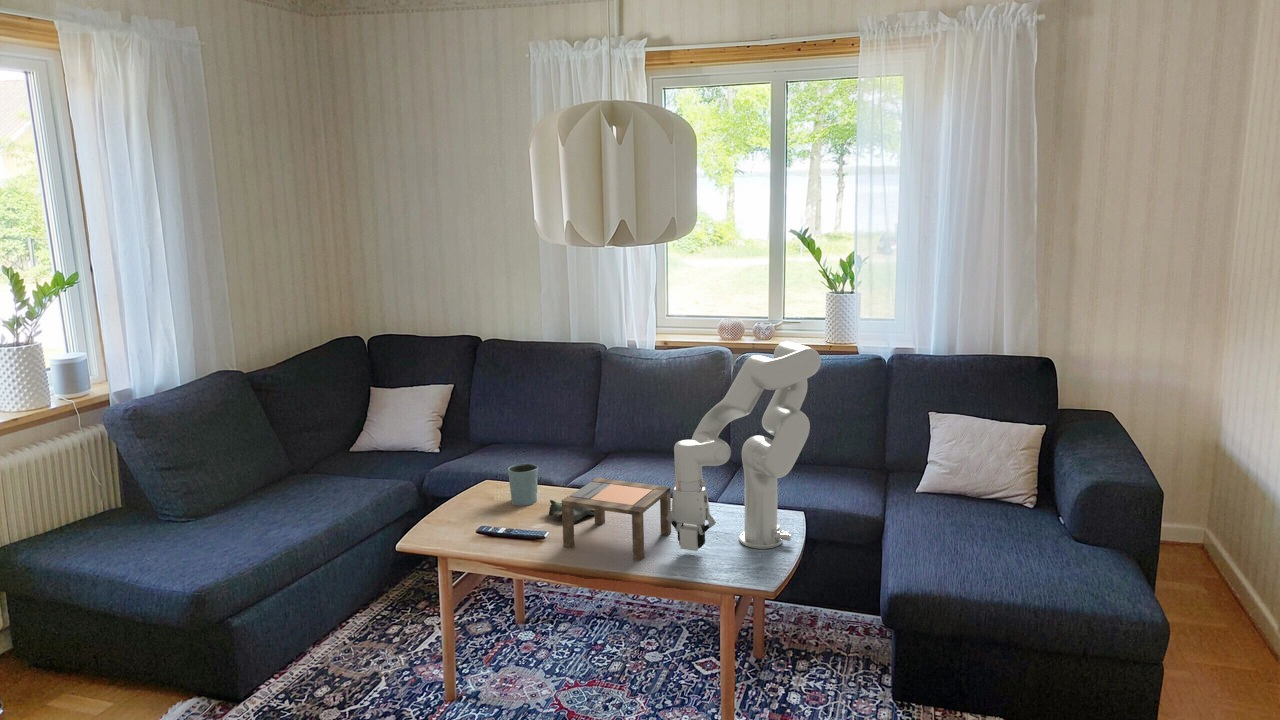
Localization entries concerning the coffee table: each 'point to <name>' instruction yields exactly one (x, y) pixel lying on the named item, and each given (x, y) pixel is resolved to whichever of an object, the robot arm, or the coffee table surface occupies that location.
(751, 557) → the coffee table surface
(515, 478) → the teal cup
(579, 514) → the decorative rock
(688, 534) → the light gray block
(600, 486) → the trapdoor
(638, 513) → the miniature wooden side table
